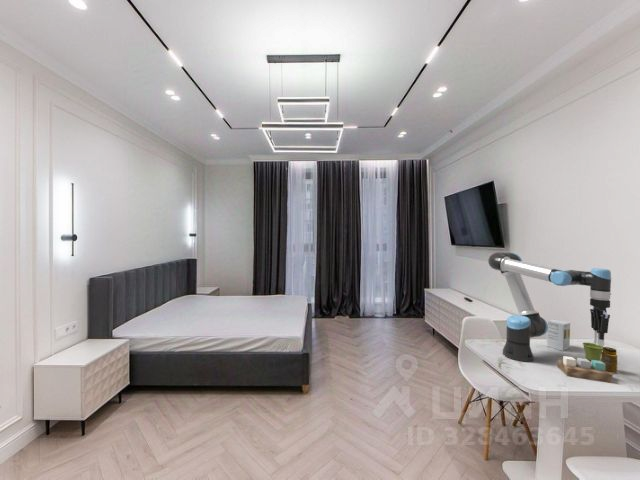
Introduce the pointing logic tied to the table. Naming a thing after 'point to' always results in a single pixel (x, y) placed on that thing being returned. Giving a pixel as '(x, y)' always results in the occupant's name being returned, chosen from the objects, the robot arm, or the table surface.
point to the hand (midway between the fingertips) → (598, 344)
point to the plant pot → (592, 351)
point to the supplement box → (558, 334)
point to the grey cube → (583, 363)
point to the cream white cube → (569, 361)
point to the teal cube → (598, 365)
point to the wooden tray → (585, 372)
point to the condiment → (610, 359)
